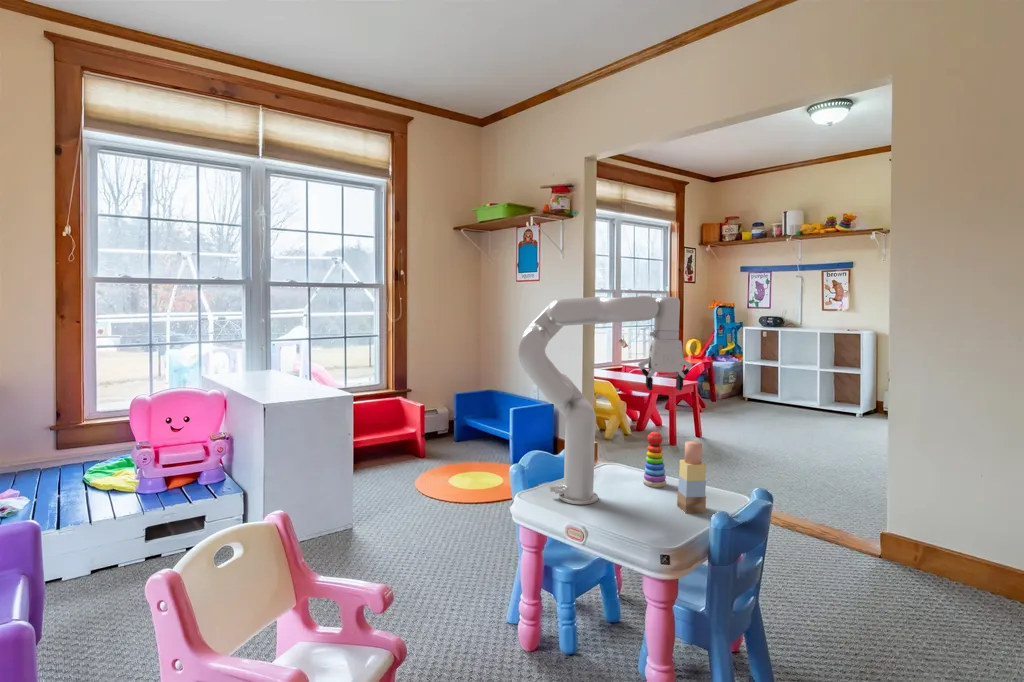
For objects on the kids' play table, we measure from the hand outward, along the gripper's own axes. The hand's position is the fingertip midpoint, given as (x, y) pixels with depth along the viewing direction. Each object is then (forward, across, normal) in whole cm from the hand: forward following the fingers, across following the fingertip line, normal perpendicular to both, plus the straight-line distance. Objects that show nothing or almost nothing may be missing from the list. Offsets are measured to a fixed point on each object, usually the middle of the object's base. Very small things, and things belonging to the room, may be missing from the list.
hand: (664, 389), depth 187 cm
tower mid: (+31, +7, -8) cm, 33 cm away
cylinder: (+21, +7, -8) cm, 24 cm away
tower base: (+36, +7, -8) cm, 38 cm away
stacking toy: (+36, +4, +16) cm, 40 cm away
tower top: (+26, +7, -8) cm, 28 cm away
